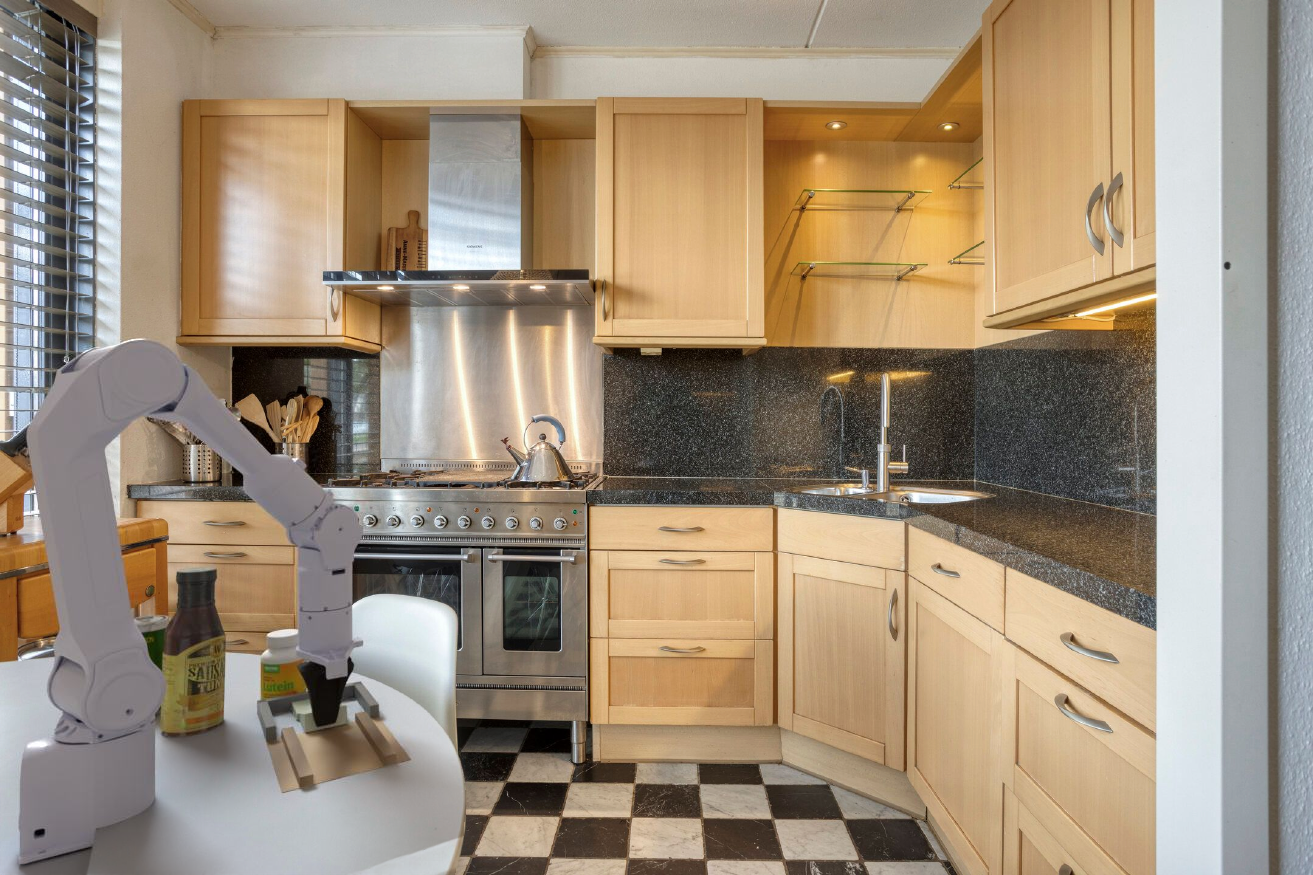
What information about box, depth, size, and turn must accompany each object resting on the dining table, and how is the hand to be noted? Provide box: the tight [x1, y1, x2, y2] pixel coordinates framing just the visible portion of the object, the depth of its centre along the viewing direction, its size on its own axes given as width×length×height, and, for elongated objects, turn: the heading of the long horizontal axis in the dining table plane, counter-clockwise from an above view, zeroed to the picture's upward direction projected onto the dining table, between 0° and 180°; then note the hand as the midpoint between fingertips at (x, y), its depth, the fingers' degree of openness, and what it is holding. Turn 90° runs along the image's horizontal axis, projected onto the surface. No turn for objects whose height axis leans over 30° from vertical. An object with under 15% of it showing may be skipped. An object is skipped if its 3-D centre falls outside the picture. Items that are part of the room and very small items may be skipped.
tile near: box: [298, 704, 349, 733], centre depth 83 cm, size 4×4×2 cm
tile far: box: [291, 699, 312, 722], centre depth 87 cm, size 4×4×2 cm
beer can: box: [132, 614, 170, 717], centre depth 90 cm, size 5×5×12 cm
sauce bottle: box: [159, 566, 227, 738], centre depth 82 cm, size 7×6×20 cm
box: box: [256, 680, 380, 742], centre depth 85 cm, size 12×10×3 cm
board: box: [265, 710, 412, 794], centre depth 75 cm, size 12×14×2 cm
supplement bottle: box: [259, 628, 308, 700], centre depth 92 cm, size 5×5×10 cm
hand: (325, 723), depth 81 cm, fingers closed
